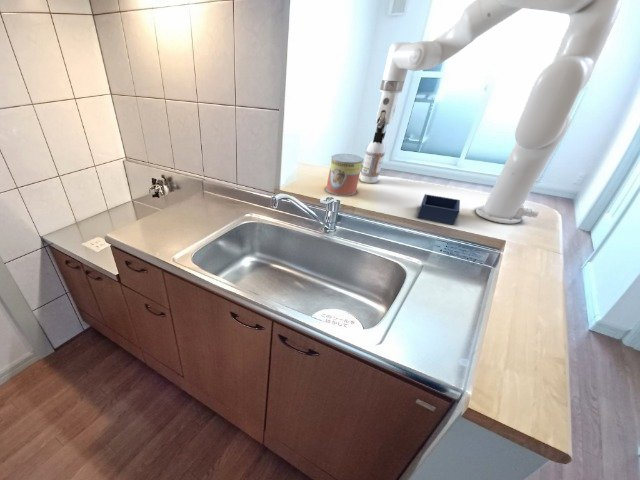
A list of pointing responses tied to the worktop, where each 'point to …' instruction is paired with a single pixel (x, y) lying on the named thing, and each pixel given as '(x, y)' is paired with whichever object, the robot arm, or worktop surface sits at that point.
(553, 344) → the worktop surface
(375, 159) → the bath foam
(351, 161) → the canned food
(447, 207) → the holder
